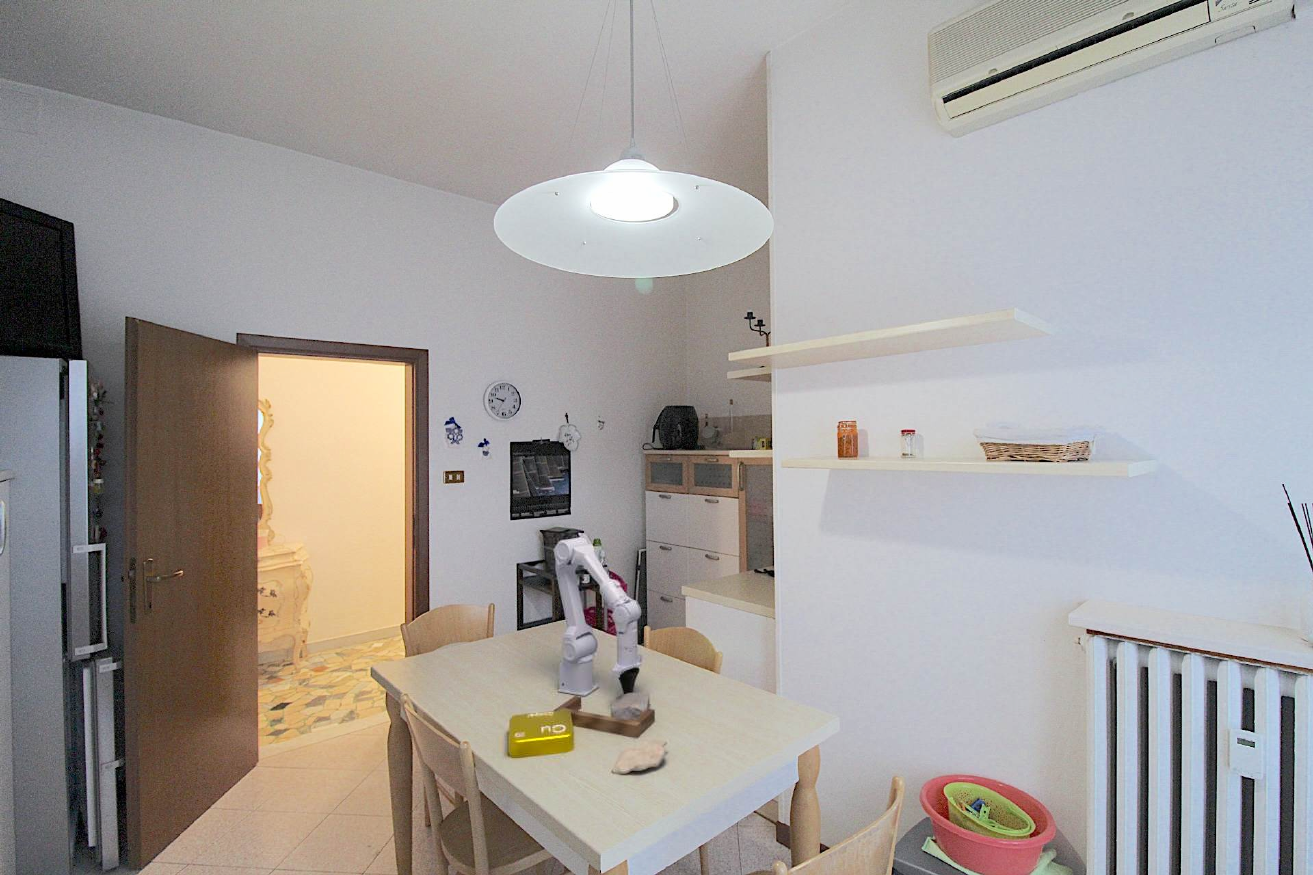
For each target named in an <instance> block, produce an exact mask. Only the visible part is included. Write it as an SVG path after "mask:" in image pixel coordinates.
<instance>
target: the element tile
mask: <svg viewBox="0 0 1313 875" xmlns="http://www.w3.org/2000/svg"><path fill="white" fill-rule="evenodd" d="M574 749H575V730H574V726H573V724H572V718H571V713H570V712H569V711H568V710H560V711H554V710H553V711H552V710H551V711H544V712H532V713H524V714H515V715H512V716H511V717H510V718H509V725H508V757H510V758H511V759H522V758H533V757H541V756H549V755H556V754H558V755H559V754H564V753H565V754H566V753H570V752H572V751H573V750H574Z"/></svg>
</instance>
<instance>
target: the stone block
mask: <svg viewBox="0 0 1313 875" xmlns="http://www.w3.org/2000/svg"><path fill="white" fill-rule="evenodd" d="M647 709H650V693H646V694H645V693H641V692H640V693H639V692H633V693H627V694H621V695H618V696H616V697H615V699H614V701H613V702H612V706H611V708H610V710H611V717H615V718H620V719H625V720H631V721H634V720H635V719H636V718H637V717H639V716H640V715H641V714H642V713H643V712H644V711H645V710H647Z"/></svg>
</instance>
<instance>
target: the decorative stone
mask: <svg viewBox="0 0 1313 875" xmlns="http://www.w3.org/2000/svg"><path fill="white" fill-rule="evenodd" d="M666 745H667V741H666V740H661V739H657V738H655V739H654V738H653V739H651V740H646V741H644V742H642V743H640V744H636V745H633V746H629V747H627V748H625V749H623V750H622V751H621V752H620V754H619V756H618V758H617V759H616V761H615V763H614V766H613V768H612V770H611V771H612V773H614V775H626V774H628V773H630V772H631V771H636V772H637V771H644V770H647V769H648V768H649V769H650V768H657V767H659V765H660V764H661V763H662V761H663V760H664V759H665V756H666V747H665V746H666Z"/></svg>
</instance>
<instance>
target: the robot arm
mask: <svg viewBox="0 0 1313 875" xmlns="http://www.w3.org/2000/svg"><path fill="white" fill-rule="evenodd" d="M553 554H554V559H555V565H554V566H555V567H554V568H555V574H556V579H557V584H558V588H559V594H560V598H561V604H562V608H563V613H564V617H565V618H564V620H565V624H566V629H565V630H564V633H563V634H562V637H561V639H562V645H561V652H562V656H563V658H562V659H561V662H560V664H559V666H558V667H559V668H558V669H559V670H558V673H559V674H558V675H559V679H558V680H559V682H558V684H559V689H557V692H558V693H559V692H560V693H563V694H564V693H565V694H571V695H575V696H580V697H581V696H582V697H586V696H587V697H588V695H589V694H591V693H592V692H594V691H595V690H597V689H598V688H600V685H599V684H594V657H595V653H596V652H597V651H598V648H599V643H598V639H597V637H596V635H595V633H594V630H593V627H592V626H590V625H589V624H587V622H586V620H585V619H586V618H585V614H584V610H583V603H582V599H581V595H580V594H581V593H580V589H579V584H578V580H577V574H576V569H577V568H578V566H583V567H584V569H585V570H586V571H587V573H588V574H590V576H592V579H594V581H595V582H596V583H597V585H599V594H600V595H601V597H602V598H603V600H604V601H605V603H606V604H607V605H608V607H609V608H610V610H611V611H612V612H613V613H611V617H612V621H613V623H614V624H615V630H616V662H615V664H614V667H613V669H611V678H613V679H614V678H615V679H618V680H619V683H620V686H621V690H622V695H624V694H627V693H634V688H635V683H636V680H637V678H638V675H639V674H640V671H641V670H640V667H641V666H642V664H643V663H642V662H643V654H642V653H641V654H640V653H639V652H638V649H639V648H638V647H639V646H638V620H639V619H640V618H641V616H642V609H641V605H640V604H639V602H638V601H637V600H635V599H632V598H631V597H629V596H628V595H627V593H626V592H625V591H624V589H623V588H622V587H621V583H620V582H619V581H617V579H612V578H610V576H609V575H608V573H607V572H606V570H605V569H604V567H603V565H602V563H601V562H600V561H599V559H598V557H597V556H596V554H595V546H594V544H592V543H591V540H590V539H589V538H588V537H586V536H578V537H574V538H568V539H561V540H560V541H558V542H557V544H556V545H555V546H554V548H553Z"/></svg>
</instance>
